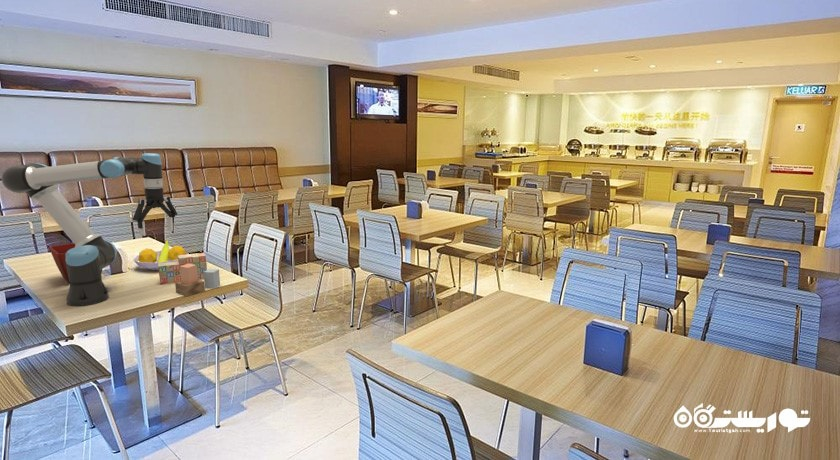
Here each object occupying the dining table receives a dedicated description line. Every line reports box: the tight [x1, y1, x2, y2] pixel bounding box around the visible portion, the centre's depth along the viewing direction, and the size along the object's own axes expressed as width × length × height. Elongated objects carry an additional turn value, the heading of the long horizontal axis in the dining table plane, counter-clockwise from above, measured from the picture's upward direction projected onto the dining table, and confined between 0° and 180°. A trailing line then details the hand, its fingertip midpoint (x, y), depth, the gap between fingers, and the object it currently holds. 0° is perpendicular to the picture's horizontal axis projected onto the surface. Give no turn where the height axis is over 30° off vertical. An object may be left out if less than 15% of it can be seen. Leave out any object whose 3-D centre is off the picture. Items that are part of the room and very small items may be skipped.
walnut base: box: [174, 279, 206, 297], centre depth 219 cm, size 9×9×5 cm
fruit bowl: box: [132, 239, 189, 271], centre depth 257 cm, size 28×27×11 cm
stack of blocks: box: [158, 252, 208, 285], centre depth 235 cm, size 21×6×12 cm, turn 120°
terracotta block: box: [180, 264, 198, 284], centre depth 217 cm, size 5×5×8 cm
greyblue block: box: [203, 268, 221, 289], centre depth 226 cm, size 5×5×8 cm
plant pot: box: [49, 242, 103, 284], centre depth 233 cm, size 19×19×17 cm
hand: (157, 232), depth 219 cm, fingers open, 13 cm apart
